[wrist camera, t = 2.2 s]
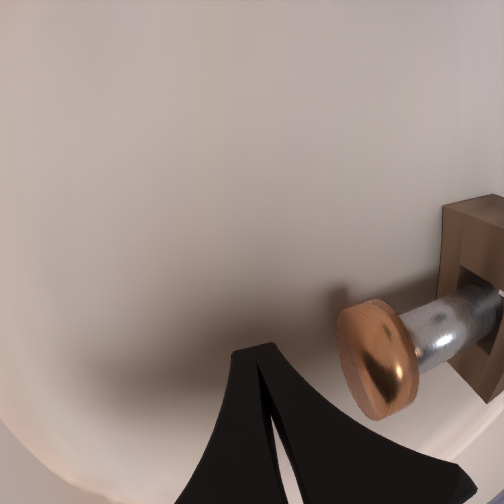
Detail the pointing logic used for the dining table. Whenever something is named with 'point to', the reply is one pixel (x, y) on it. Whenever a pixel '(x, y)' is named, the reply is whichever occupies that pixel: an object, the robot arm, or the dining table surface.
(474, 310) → the pin
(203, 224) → the dining table surface
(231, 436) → the robot arm
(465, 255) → the block
